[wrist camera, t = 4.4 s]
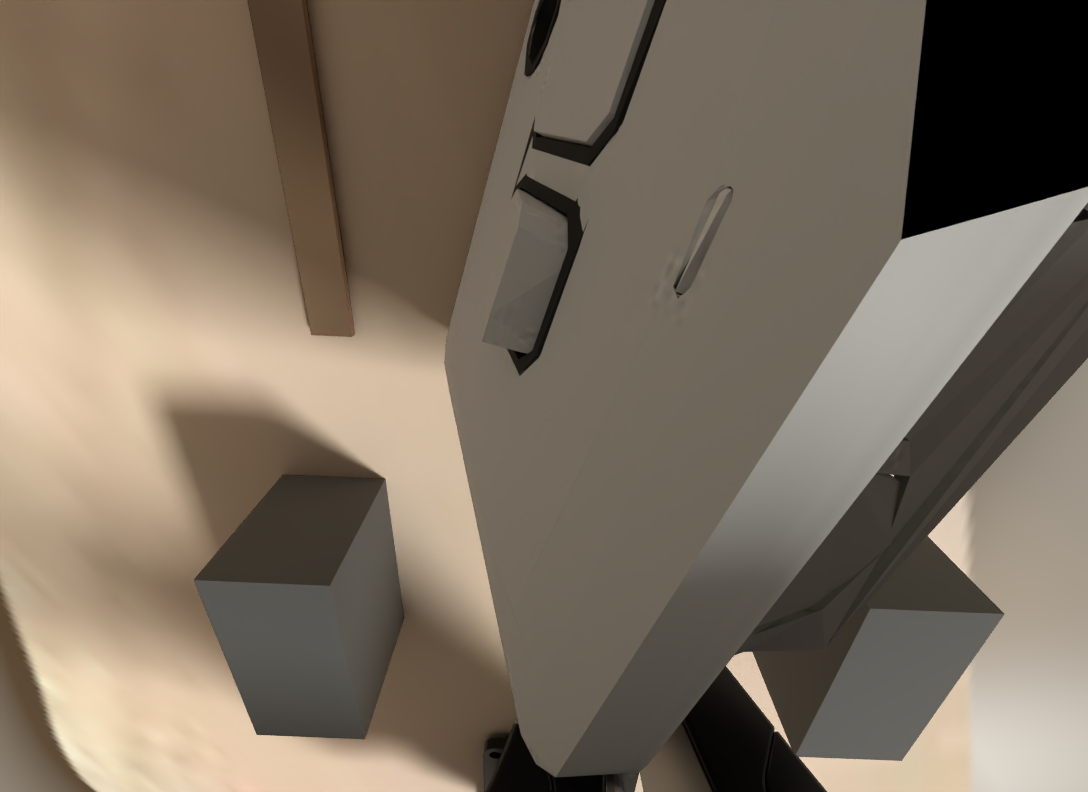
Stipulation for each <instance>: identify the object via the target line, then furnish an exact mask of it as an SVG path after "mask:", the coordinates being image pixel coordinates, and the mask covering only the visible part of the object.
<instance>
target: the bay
mask: <svg viewBox="0 0 1088 792" xmlns="http://www.w3.org/2000/svg"><path fill="white" fill-rule="evenodd" d="M248 5H249V10H250V15H251V21H252V26H253V31H254V36H255V42H256V47H257V52H258V57H259V63H260V68H261V73H262V78H263V84H264V89H265V94H266V99H267V105H268V110H269V115H270V120H271V126H272V131H273V136H274V142H275V147H276V152H277V157H278V163H279V168H280V173H281V178H282V184H283V189H284V194H285V199H286V205H287V210H288V215H289V220H290V226H291V231H292V236H293V241H294V247H295V252H296V257H297V262H298V268H299V273H300V278H301V283H302V289H303V294H304V299H305V304H306V310H307V315H308V320H309V325H310V331H311V335H323V336H346V337H352V336H353V335H354V334H355V331H354V324H353V318H352V311H351V304H350V297H349V290H348V283H347V277H346V270H345V263H344V256H343V249H342V242H341V236H340V229H339V222H338V215H337V208H336V201H335V195H334V188H333V181H332V174H331V167H330V160H329V154H328V147H327V140H326V133H325V126H324V119H323V113H322V106H321V99H320V92H319V85H318V78H317V72H316V65H315V58H314V51H313V44H312V37H311V30H310V24H309V17H308V10H307V3H306V0H248Z"/></svg>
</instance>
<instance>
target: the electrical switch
mask: <svg viewBox="0 0 1088 792" xmlns="http://www.w3.org/2000/svg"><path fill="white" fill-rule="evenodd" d="M1087 358H1088V0H534V3H533V7H532V11H531V15H530V19H529V23H528V26H527V30H526V34H525V38H524V42H523V46H522V49H521V53H520V57H519V61H518V65H517V68H516V72H515V76H514V80H513V84H512V88H511V91H510V95H509V99H508V103H507V107H506V111H505V114H504V118H503V122H502V126H501V130H500V133H499V137H498V141H497V145H496V149H495V153H494V156H493V160H492V164H491V168H490V172H489V176H488V179H487V183H486V187H485V191H484V195H483V198H482V202H481V206H480V210H479V214H478V218H477V221H476V225H475V229H474V233H473V237H472V241H471V244H470V248H469V252H468V256H467V260H466V263H465V267H464V271H463V275H462V279H461V283H460V286H459V290H458V294H457V298H456V302H455V306H454V309H453V313H452V317H451V321H450V325H449V330H448V334H447V339H446V349H445V362H444V363H445V369H446V374H447V380H448V386H449V391H450V396H451V401H452V406H453V411H454V415H455V420H456V425H457V430H458V435H459V440H460V444H461V449H462V454H463V459H464V464H465V468H466V473H467V478H468V483H469V488H470V492H471V497H472V502H473V507H474V512H475V516H476V521H477V526H478V531H479V536H480V540H481V545H482V550H483V555H484V560H485V565H486V569H487V574H488V579H489V584H490V589H491V593H492V598H493V603H494V608H495V613H496V617H497V622H498V627H499V632H500V637H501V641H502V646H503V651H504V656H505V661H506V666H507V670H508V675H509V680H510V685H511V690H512V694H513V699H514V704H515V709H516V714H517V718H518V723H519V728H520V733H521V736H522V738H523V740H524V742H525V743H526V745H527V747H528V749H529V751H530V753H531V755H532V757H533V759H534V761H535V763H536V764H537V765H538V766H540V767H541V768H543V769H544V770H546V771H547V772H548V773H550V774H551V775H553V776H554V777H570V776H588V775H605V774H622V773H624V774H626V775H627V776H629V777H631V778H632V777H633V776H634V775H636V774H637V773H638V772H640V771H641V770H642V769H644V768H645V767H646V766H647V765H648V764H649V763H650V762H651V761H652V759H653V758H654V757H655V756H656V754H657V753H658V752H659V750H660V749H661V748H662V747H663V745H664V744H665V743H666V742H667V740H668V739H669V738H670V736H671V735H672V734H673V733H674V731H675V730H676V729H677V727H678V726H679V725H680V724H681V722H682V721H683V720H684V718H685V717H686V716H687V715H688V713H689V712H690V711H691V710H692V708H693V707H694V706H695V704H696V703H697V702H698V701H699V699H700V698H701V697H702V695H703V694H704V693H705V692H706V690H707V689H708V688H709V686H710V685H711V684H712V683H713V681H714V680H715V679H716V678H717V676H718V675H719V674H720V672H721V671H722V670H723V669H724V667H725V666H726V665H727V663H728V662H729V661H730V660H731V658H732V657H733V656H734V655H736V654H739V653H742V652H755V651H812V650H825V649H826V648H827V647H828V645H829V644H830V643H831V642H832V641H833V640H834V639H835V638H836V637H837V635H838V634H839V633H840V632H841V631H842V630H843V629H844V628H845V627H846V625H847V624H848V623H849V622H850V621H851V620H852V619H853V618H854V617H855V615H856V614H857V613H858V612H859V611H860V610H861V609H862V608H863V607H864V605H865V604H866V603H867V602H868V601H869V600H870V599H871V598H872V597H873V596H874V594H875V593H876V592H877V591H878V590H879V589H880V588H881V587H882V586H883V584H884V583H885V582H886V581H887V580H888V579H889V578H890V577H891V576H892V574H893V573H894V572H895V571H896V570H897V569H898V568H899V567H900V566H901V564H902V563H903V562H904V561H905V560H906V559H907V558H908V557H909V556H910V554H911V553H912V552H913V551H914V550H915V549H916V548H917V547H918V546H919V544H920V543H921V542H922V541H923V540H924V539H925V538H926V537H927V536H928V535H929V533H930V532H931V531H932V530H933V529H934V528H935V527H936V526H937V525H938V523H939V522H940V521H941V520H942V519H943V518H944V517H945V516H946V515H947V513H948V512H949V511H950V510H951V509H952V508H953V507H954V506H955V505H956V503H957V502H958V501H959V500H960V499H961V498H962V497H963V496H964V495H965V493H966V492H967V491H968V490H969V489H970V488H971V487H972V486H973V485H974V483H975V482H976V481H977V480H978V479H979V478H980V477H981V476H982V475H983V473H984V472H985V471H986V470H987V469H988V468H989V467H990V466H991V465H992V464H993V462H994V461H995V460H996V459H997V458H998V457H999V456H1000V455H1001V453H1002V452H1003V451H1004V450H1005V449H1006V448H1007V447H1008V446H1009V445H1010V444H1011V442H1012V441H1013V440H1014V439H1015V438H1016V437H1017V436H1018V435H1019V434H1020V432H1021V431H1022V430H1023V429H1024V428H1025V427H1026V426H1027V425H1028V424H1029V422H1030V421H1031V420H1032V419H1033V418H1034V417H1035V416H1036V415H1037V413H1038V412H1039V411H1040V410H1041V409H1042V408H1043V407H1044V406H1045V405H1046V404H1047V402H1048V401H1049V400H1050V399H1051V398H1052V397H1053V396H1054V395H1055V394H1056V392H1057V391H1058V390H1059V389H1060V388H1061V387H1062V386H1063V385H1064V383H1065V382H1066V381H1067V380H1068V379H1069V378H1070V377H1071V376H1072V375H1073V374H1074V373H1075V371H1076V370H1077V369H1078V368H1079V367H1080V366H1081V365H1082V364H1083V363H1084V361H1085V360H1086V359H1087ZM889 474H893V475H894V477H893V476H891V475H889ZM882 551H883V552H882ZM881 552H882V553H881ZM880 553H881V554H880Z"/></svg>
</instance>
